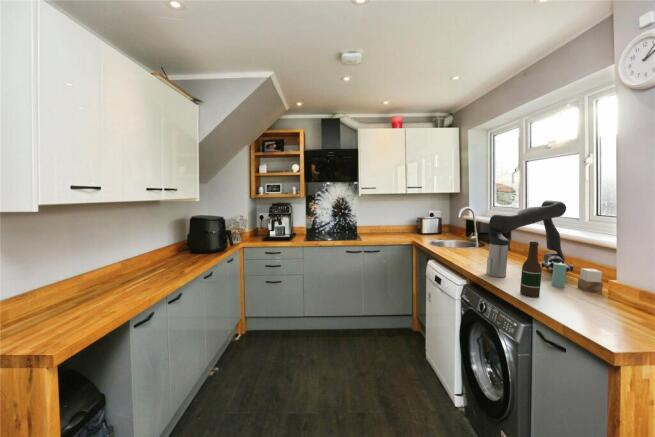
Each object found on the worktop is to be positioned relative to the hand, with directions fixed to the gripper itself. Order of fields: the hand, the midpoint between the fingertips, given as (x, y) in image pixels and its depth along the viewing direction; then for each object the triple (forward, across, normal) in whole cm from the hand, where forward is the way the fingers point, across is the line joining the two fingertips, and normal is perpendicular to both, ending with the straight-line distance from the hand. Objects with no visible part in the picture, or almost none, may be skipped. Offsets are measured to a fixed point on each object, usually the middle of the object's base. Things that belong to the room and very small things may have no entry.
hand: (557, 268), depth 179 cm
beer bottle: (+39, -12, +7) cm, 41 cm away
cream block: (+11, +13, +2) cm, 17 cm away
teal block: (+11, 0, +7) cm, 13 cm away
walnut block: (+11, +13, +7) cm, 18 cm away
